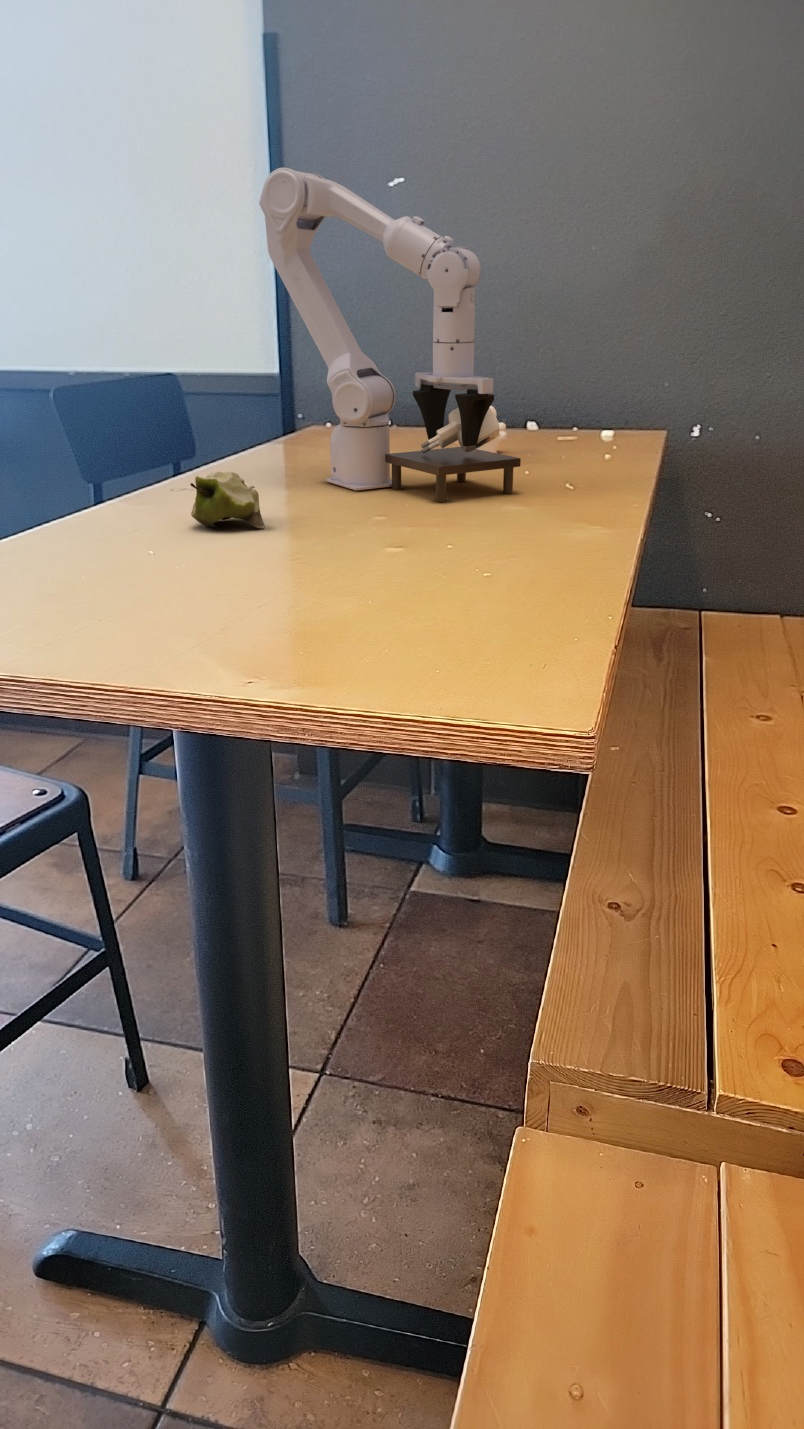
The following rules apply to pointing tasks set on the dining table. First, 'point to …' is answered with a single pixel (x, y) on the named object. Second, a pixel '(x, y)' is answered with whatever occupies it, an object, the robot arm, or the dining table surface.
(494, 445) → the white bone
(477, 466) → the stool
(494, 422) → the power adapter
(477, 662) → the dining table surface
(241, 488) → the fruit
